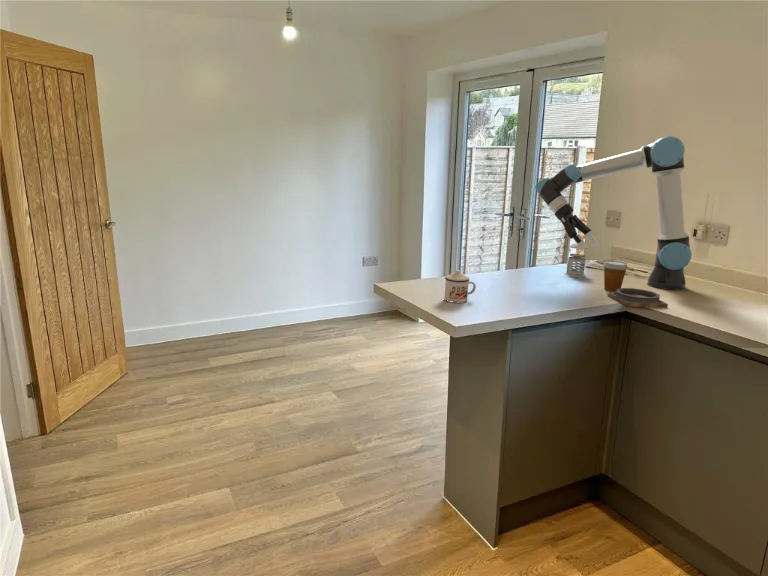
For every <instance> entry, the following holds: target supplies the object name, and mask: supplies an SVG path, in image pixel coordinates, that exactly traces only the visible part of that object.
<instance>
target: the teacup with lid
mask: <svg viewBox="0 0 768 576" xmlns="http://www.w3.org/2000/svg"><path fill="white" fill-rule="evenodd" d="M444 279H445V285H444V286H445V287H444V300H445V301H446V300H448V301H453V302H465V301H467V302H468V297H469V296H468V295H472V294H474V292H476V288H477V287H476V286H477V285H476V283H475V282H473V281H470V277H469V276H467V275H465V274H464V273H461V270H460V269H456V270H455V271H454V272H452V273H450V274H447V275H445V278H444ZM469 284H472V286H473V287H472V289H471V291H469ZM465 303H466V302H465Z"/></svg>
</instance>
